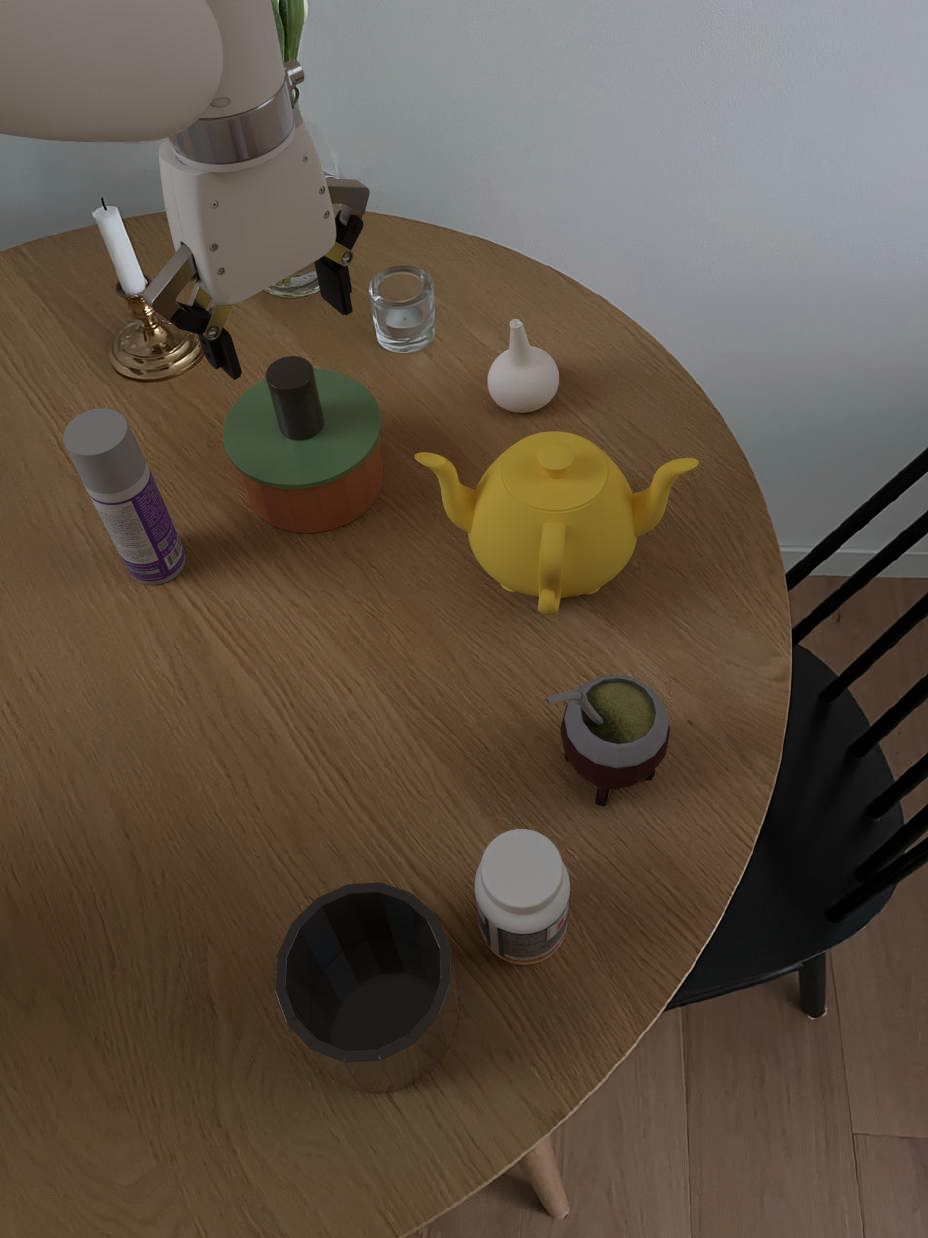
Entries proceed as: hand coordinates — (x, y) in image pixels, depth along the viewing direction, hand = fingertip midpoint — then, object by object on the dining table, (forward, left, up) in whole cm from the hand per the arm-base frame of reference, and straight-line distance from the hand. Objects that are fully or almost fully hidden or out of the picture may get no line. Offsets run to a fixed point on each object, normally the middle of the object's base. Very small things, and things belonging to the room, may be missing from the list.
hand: (283, 336), depth 77 cm
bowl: (0, 0, -15) cm, 15 cm away
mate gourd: (+30, -18, -16) cm, 39 cm away
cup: (+22, -38, -15) cm, 47 cm away
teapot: (+21, -2, -16) cm, 27 cm away
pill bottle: (+28, -30, -16) cm, 44 cm away
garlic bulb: (+13, +15, -16) cm, 25 cm away
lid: (0, 0, -9) cm, 9 cm away
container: (-9, -12, -16) cm, 22 cm away
